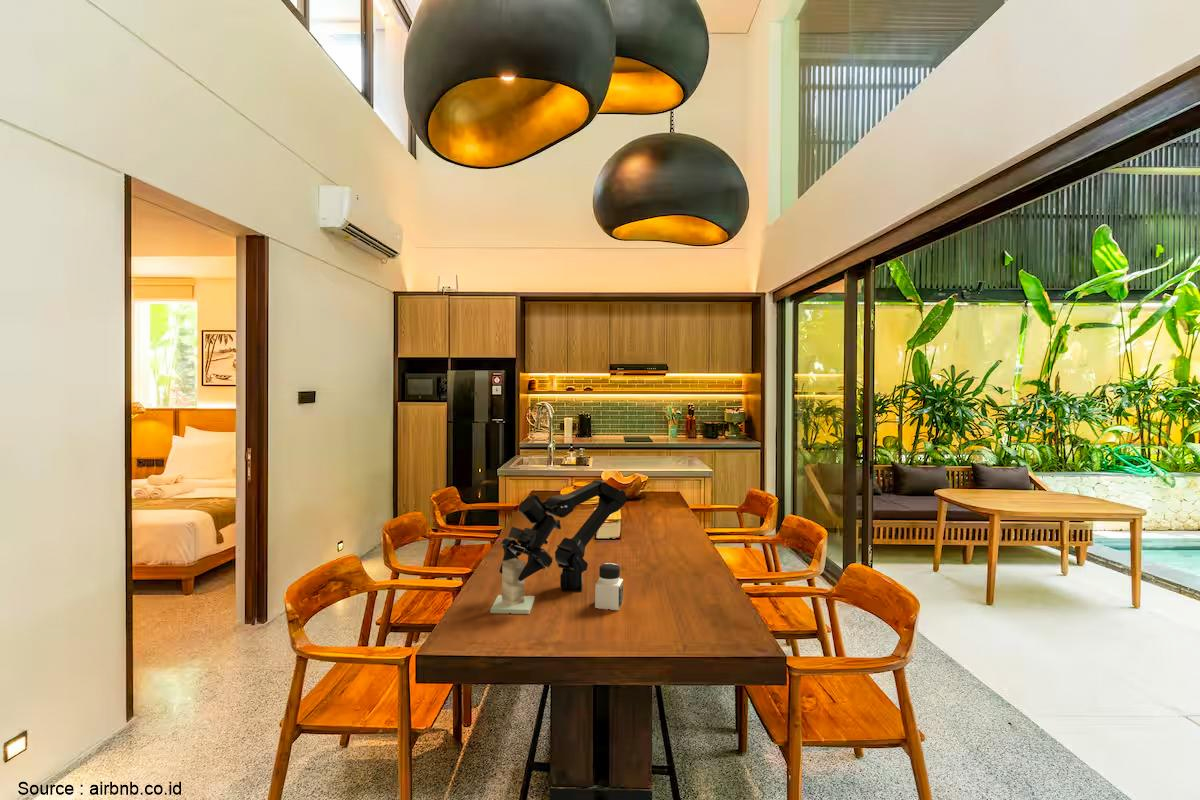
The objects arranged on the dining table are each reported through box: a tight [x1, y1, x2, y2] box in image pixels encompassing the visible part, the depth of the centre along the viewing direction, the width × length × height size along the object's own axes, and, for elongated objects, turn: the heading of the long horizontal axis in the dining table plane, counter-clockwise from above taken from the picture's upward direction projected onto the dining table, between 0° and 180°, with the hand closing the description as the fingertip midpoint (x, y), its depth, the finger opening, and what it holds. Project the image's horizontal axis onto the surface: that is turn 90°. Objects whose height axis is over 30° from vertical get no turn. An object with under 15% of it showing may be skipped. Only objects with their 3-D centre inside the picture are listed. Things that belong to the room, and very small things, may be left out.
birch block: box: [501, 558, 526, 606], centre depth 169 cm, size 5×5×12 cm
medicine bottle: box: [594, 562, 624, 611], centre depth 170 cm, size 7×7×12 cm
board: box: [489, 594, 536, 615], centre depth 169 cm, size 11×11×1 cm
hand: (509, 576), depth 168 cm, fingers open, 9 cm apart
